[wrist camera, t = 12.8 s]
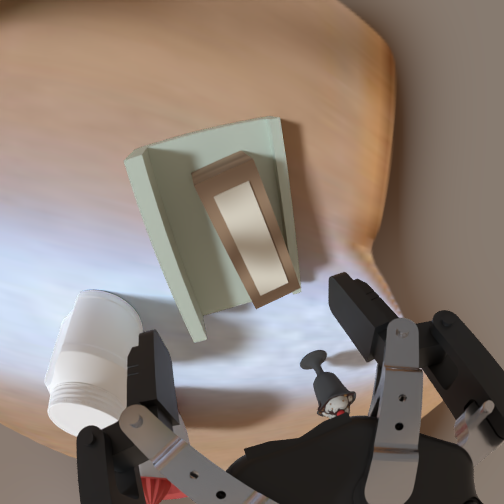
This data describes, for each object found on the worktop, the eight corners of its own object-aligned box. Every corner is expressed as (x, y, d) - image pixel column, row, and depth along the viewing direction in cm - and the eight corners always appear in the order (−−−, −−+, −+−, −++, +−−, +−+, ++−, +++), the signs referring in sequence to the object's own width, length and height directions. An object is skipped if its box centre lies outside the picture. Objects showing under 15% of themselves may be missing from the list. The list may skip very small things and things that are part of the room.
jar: (89, 276, 29) (57, 380, 17) (153, 316, 34) (155, 420, 22) (56, 331, 32) (32, 422, 19) (112, 361, 36) (107, 452, 24)
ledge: (292, 278, 37) (311, 307, 32) (189, 308, 35) (194, 343, 30) (269, 115, 26) (292, 119, 21) (134, 149, 25) (123, 160, 19)
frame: (190, 172, 25) (193, 186, 21) (241, 150, 25) (253, 159, 21) (245, 283, 33) (256, 309, 29) (285, 265, 33) (301, 288, 29)
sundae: (302, 347, 44) (342, 423, 32) (336, 345, 46) (377, 412, 34) (289, 373, 47) (321, 444, 34) (321, 370, 49) (356, 434, 37)
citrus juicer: (76, 396, 39) (69, 497, 22) (150, 368, 39) (159, 494, 22) (131, 431, 47) (138, 516, 30) (201, 410, 47) (222, 506, 30)
